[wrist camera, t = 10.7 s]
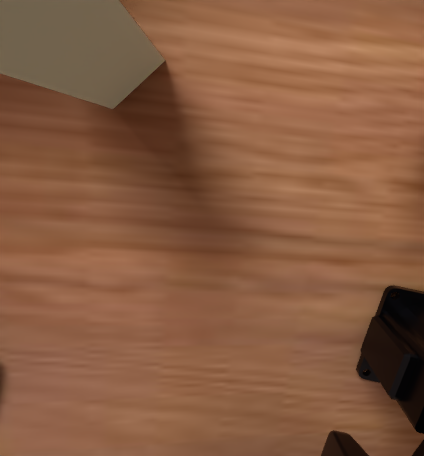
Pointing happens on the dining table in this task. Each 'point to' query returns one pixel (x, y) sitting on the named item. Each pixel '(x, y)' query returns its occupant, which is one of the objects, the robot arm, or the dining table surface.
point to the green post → (76, 48)
